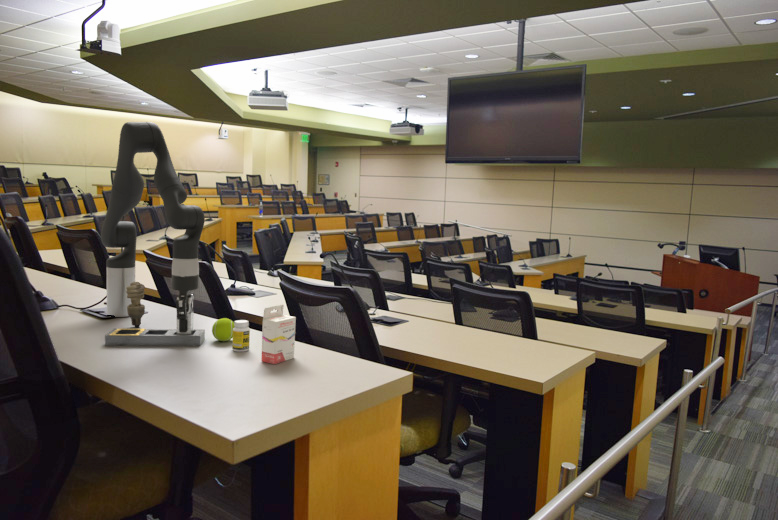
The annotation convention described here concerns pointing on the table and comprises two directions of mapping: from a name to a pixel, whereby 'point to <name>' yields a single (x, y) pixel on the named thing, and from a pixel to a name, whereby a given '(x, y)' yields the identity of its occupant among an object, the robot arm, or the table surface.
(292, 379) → the table surface
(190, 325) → the brushed metal square block
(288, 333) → the ink cartridge box
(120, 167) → the robot arm
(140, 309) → the beige stone carving
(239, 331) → the supplement bottle
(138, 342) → the grey long flat frame
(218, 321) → the tennis ball
